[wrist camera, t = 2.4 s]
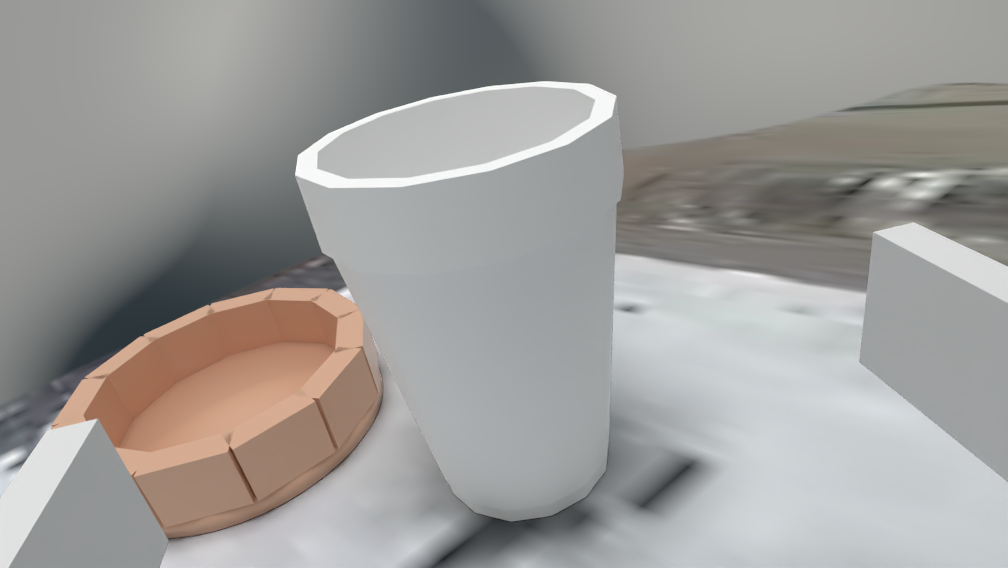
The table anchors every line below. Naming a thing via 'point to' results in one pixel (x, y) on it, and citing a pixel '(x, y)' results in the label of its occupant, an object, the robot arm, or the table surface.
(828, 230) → the table surface
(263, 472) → the bowl
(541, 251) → the foam cup
